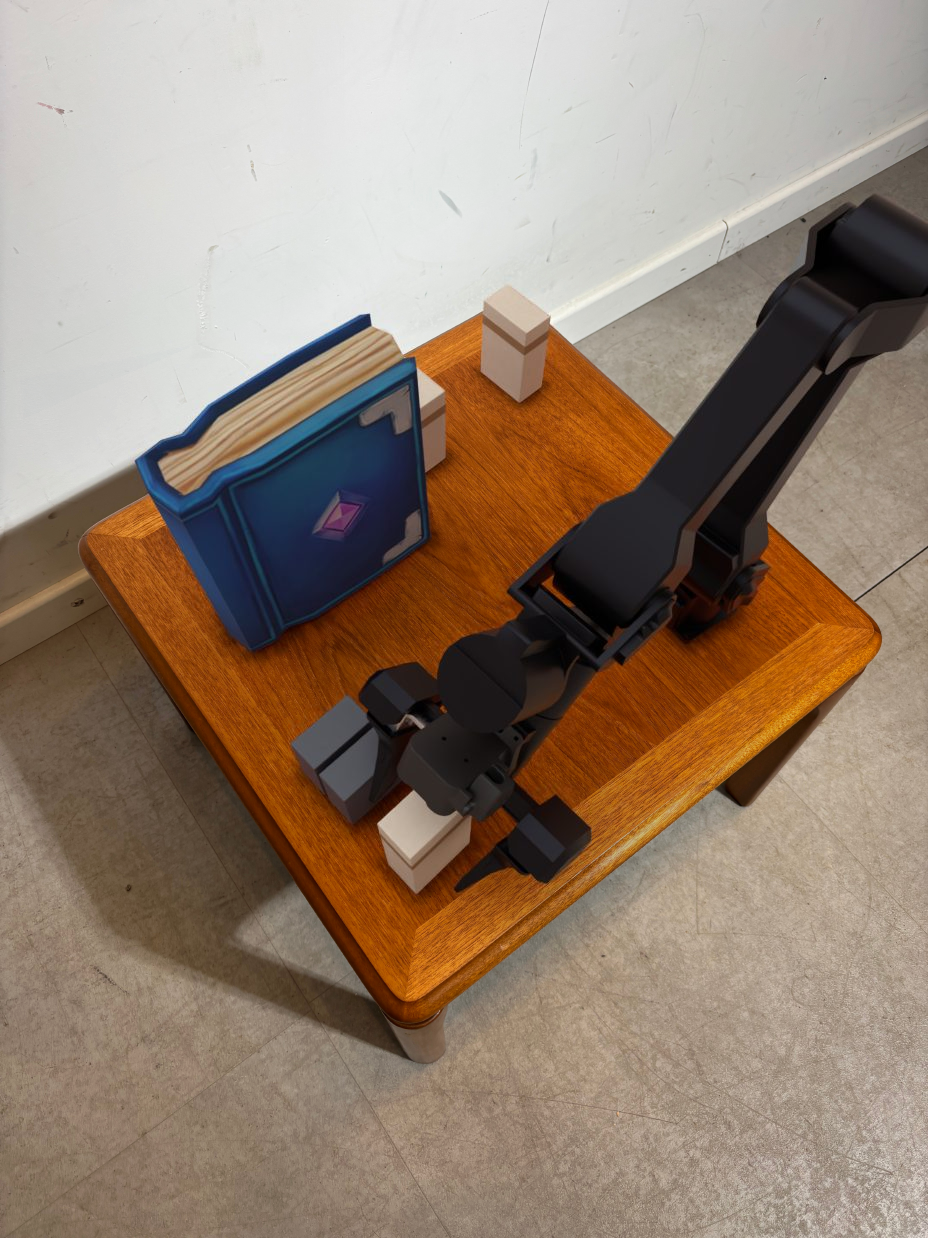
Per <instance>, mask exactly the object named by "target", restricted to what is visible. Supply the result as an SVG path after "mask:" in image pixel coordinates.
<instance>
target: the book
mask: <svg viewBox="0 0 928 1238" xmlns="http://www.w3.org/2000/svg"><path fill="white" fill-rule="evenodd" d="M402 352H403V351H401V349H400V347H399V345H398V343H397V341H396V339H395V337H394V336H393V334H391V333H389V332H387V331H384V330H382V329H379V328H377V327H375V326H373V323H372V318H371V313H364V314H363V313H362V314H358V315H357V316H355V317H353V318H351V319H349V320H348V321H346V322H344V323H342V324H341V325H339V326H337V327H335V328H333V329H332V330H330V331H328V332H326V333H325V334H322V335H321V336H319V337H318V338H315V339H313V340H312V341H310V342H308V343H306V344H305V345H303V346H301V347H299V348H297V349H296V350H293V351H292V352H290V353H289V354H287V355H285V356H283V357H282V358H280V359H279V360H277V361H275V362H274V363H272V364H271V365H269V366H267V367H266V368H265V369H263V370H261V371H259V372H258V373H256V374H254V375H253V376H251V377H250V378H249V379H247V380H245V381H244V382H242V383H240V384H239V385H237V386H236V387H234V388H233V389H231V390H229V391H227V392H226V393H224V394H223V395H221V396H219V397H218V398H216V399H214V400H213V401H212V402H210V403H209V404H207V405H206V406H205V407H204V409H202V410H201V412H200V413H198V415H197V416H196V417H195V418H194V420H192V422H190V424H189V425H188V426H187V428H185V429H184V430H183V431H182V432H181V433H179V434H176V435H172V436H169V437H166V438H163V439H160V440H159V441H157V442H156V443H155V444H153V445H152V446H151V447H150V448H149V449H147V450H145V452H143V453H142V454H141V455H140V456H138V457H137V458H136V459H134V464H135V466H136V468H137V470H138V473H139V475H140V477H141V479H142V482H143V484H144V486H145V489H146V492H147V493H148V495H149V497H150V499H151V500H152V502H153V504H154V506H155V508H156V509H157V512H158V513H159V515H160V516H161V518H162V519H163V521H164V524H165V525H166V527H167V528H168V530H169V532H170V534H171V536H172V538H173V539H174V541H175V543H176V545H177V546H178V547H179V549H180V551H181V553H182V554H183V556H184V558H185V560H186V562H187V564H188V565H189V567H190V568H191V570H192V572H193V574H194V576H195V577H196V579H197V581H198V583H199V585H200V586H201V588H202V590H203V591H204V593H205V595H206V597H207V598H208V601H209V602H210V604H211V605H212V607H213V609H214V611H215V612H216V614H217V616H218V618H219V620H220V621H221V623H222V625H223V626H224V628H225V630H226V632H227V634H228V635H229V636H230V637H231V638H233V639H234V640H235V641H236V642H238V643H239V644H240V645H242V647H244V648H246V649H247V650H248V651H249V652H250V653H252V654H254V653H255V652H256V653H257V652H258V651H260V650H262V649H263V648H265V647H267V646H269V645H271V644H274V643H276V642H277V641H278V640H279V639H280V638H281V636H282V635H283V634H284V633H285V632H286V630H287V629H288V628H292V627H294V626H297V625H300V624H303V623H306V622H309V621H312V620H315V619H317V618H319V617H320V616H322V615H323V614H325V613H326V612H328V611H329V610H331V609H332V608H334V607H335V606H336V605H338V604H340V603H342V602H343V601H344V600H346V599H347V598H349V597H350V596H352V595H353V594H355V593H356V592H358V591H359V590H361V589H362V588H364V587H365V586H367V585H369V584H370V583H372V582H373V581H374V580H376V579H378V578H380V576H382V575H383V574H384V573H386V572H387V571H388V570H390V569H391V568H392V567H394V566H395V565H397V564H398V563H399V562H401V561H402V560H404V559H406V557H408V556H409V555H411V554H412V553H414V552H415V551H416V550H417V549H419V548H421V546H423V545H425V544H426V543H427V542H428V541H430V540H431V539H432V537H431V524H430V512H429V511H430V510H429V501H428V499H429V498H428V487H427V476H426V473H425V462H424V449H423V437H422V425H421V413H420V400H419V388H418V376H417V368H418V367H417V359H416V356H410V357H405V356H404V354H403V353H402ZM404 357H405V358H404Z"/></svg>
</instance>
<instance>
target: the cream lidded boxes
mask: <svg viewBox="0 0 928 1238" xmlns="http://www.w3.org/2000/svg"><path fill="white" fill-rule="evenodd" d="M551 317H552V316H551V315H550V314H549V313H548V312H546V310H544V309H542V308H541V307H540V306H538V305H537V304H536V303H534V302H533V301H531V300H530V299H529V298H527V297H526V296H525V295H524V294H522V293H521V292H520V291H518V290H517V289H516V288H514V287H513V286H512V285H510V284H509V283H507V284H505V285H504V286H502V287H501V288H499V289H498V290H497V291H495V292H493V293H492V294H491V295H488V296H487V297H486V298H485V299H483V307H482V320H481V321H482V327H481V328H482V330H481V355H480V356H481V357H480V358H481V359H480V373H481V374H483V375H484V376H485V377H487V378H488V379H489V380H490V381H491V382H493V383H494V384H495V385H496V386H498V387H499V388H500V389H501V390H502V391H504V392H505V393H506V394H507V395H508V396H510V397H511V398H512V399H513V400H515V401H516V402H517V403H520V404H521V403H522V402H523V401H524V400H526V399H527V398H529V397H531V395H533V394H534V393H535V392H536V391H538V390H539V389H541V388H542V386H543V379H544V370H545V365H546V364H545V363H546V357H547V348H548V341H549V336H550V325H551V319H552V318H551ZM404 358H406V356H404ZM417 376H418V388H419V400H420V413H421V425H422V437H423V449H424V462H425V474H426V473H427V472H429V471H430V470H432V469H433V468H434V467H435V466H437V465H438V464H439V463H441V462H442V461H443V460H445V459H446V458H447V456H446V455H447V454H446V453H447V449H446V446H447V445H446V444H447V443H446V439H447V437H446V412H447V406H446V405H447V404H446V390H445V389H444V388H443V387H441V386H440V385H439V384H438V383H436V382H435V381H434V380H433V379H432V378H430V377H429V375H427V374H426V373H425V372H424V371H422V370H421V369H420V368H419V367H417Z"/></svg>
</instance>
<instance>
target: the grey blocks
mask: <svg viewBox="0 0 928 1238" xmlns="http://www.w3.org/2000/svg"><path fill="white" fill-rule="evenodd" d="M366 714H367V711H365V710H364V709H363V708H362V707H361V706H360V705H359V704H358V703H357V702H356V700H354V699H353V698H352V697H351V696H350V694H346V695H345V696H344V697H343V698H342V699H341V700H340V701H338V702H337V703H336V704H335V705H333V706H332V707H331V708H330V709H329V710H328V711H326V712H325V713H324V714H323V715H321V716H320V718H318V719H317V720H316V721H314V723H312V724H311V725H310V726H309V727H308V728H307V729H305V730H304V731H303V732H302V733H300V734H299V735H298V736H297V737H296V738H295V739H293V740H292V741H291V742H290V743H289V745H290V747H291V749H292V751H293V753H294V755H295V758H296V760H297V762H298V764H299V767H300V769H301V771H302V772H303V773H304V775H305V776H306V777H307V778H308V779H309V780H310V781H311V783H312V784H314V785H315V786H316V788H317V789H318V790H319V791H320V792H321V793H322V794H323V796H327V797H328V800H329V802H330V803H331V804H332V805H333V806H334V808H336V810H338V811H339V813H340V814H341V815H342V816H343V817H344V818H345V819H346V820H347V821H348V822H349V823H350V825H352V826H354V825H355V824H357V822H359V821H360V820H361V819H362V818H363V817H364V816H365V815H366V814H368V812H370V811H371V810H372V809H373V808H374V807H375V806H376V805H377V804H378V803H380V802H381V801H382V800H383V799H384V798H385V797H386V796H387V795H389V794H390V793H391V791H393V790H394V789H395V788H396V787H397V786H398V785H399V784H401V782H403V781H402V780H401V779H400V778H399V776H398V777H397V779H396V780H395V782H394V783H393V785H392V786H391V787H390V788H389V789H388V791H387V792H386V793H385V794H384V795H383V796H382V797H381V799H380V800H378V801H376V802H374V803H371V802H370V801H369V794H370V790H371V785H372V780H373V775H374V770H375V765H376V760H377V753H378V735H377V733H376V731H375V729H374V727H373V726H372V724H371V723H370V722H369V721H368V720H367V717H366Z"/></svg>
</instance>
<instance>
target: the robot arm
mask: <svg viewBox="0 0 928 1238" xmlns="http://www.w3.org/2000/svg"><path fill="white" fill-rule="evenodd" d="M927 328H928V220H926V219H924V218H922V217H921V216H920V215H917V214H916V213H914V212H912V211H910V210H909V209H907V208H905V207H904V206H902V205H900V204H898V203H896V202H895V201H893V200H891V199H889V198H888V197H886V196H885V195H882V194H881V193H873V194H872V195H870V196H868V197H867V198H865V199H864V200H863V201H862V202H861V203H860V204H859V205H857V204H854V203H852V202H851V201H846V202H844V203H843V204H841V205H840V206H838V207H837V208H836V209H834V210H833V211H832V212H830V213H829V214H827V215H826V216H825V217H823V218H821V219H820V220H819V221H818V222H816V223H815V224H813V225H812V226H811V227H809V229H808V232H807V234H806V236H805V238H804V240H803V243H802V244H801V247H800V248H799V251H798V254H797V255H796V257H795V260H794V261H793V264H792V266H791V269H790V271H789V273H788V275H787V276H786V277H785V278H784V279H783V280H782V281H781V282H780V283H779V284H778V285H777V286H776V288H775V289H774V290H773V291H772V292H771V294H770V295H769V296H768V298H767V300H766V301H765V302H764V304H763V305H762V307H761V310H760V312H759V314H758V316H757V319H756V322H755V331H754V332H753V333H752V334H751V336H750V337H749V339H748V340H747V341H746V342H745V344H744V345H743V346H742V348H741V349H740V351H739V352H738V353H737V355H735V357H734V358H733V360H732V361H731V362H730V364H729V365H728V366H727V368H726V369H725V370H724V371H723V373H722V374H721V375H720V377H719V378H718V379H717V381H716V382H715V383H714V384H713V386H712V387H711V389H710V390H709V391H708V392H707V394H706V395H705V397H704V398H703V399H702V401H701V402H700V403H699V404H698V406H697V407H696V408H695V409H694V411H693V412H692V414H691V415H690V416H689V418H688V419H687V420H686V422H685V423H684V424H683V426H681V428H680V429H679V430H678V432H677V434H676V435H675V436H674V437H673V439H672V440H671V441H670V442H669V444H668V446H667V447H666V448H665V449H664V451H663V452H661V454H660V456H659V457H658V458H657V460H656V461H655V463H654V464H653V465H652V466H651V468H650V469H649V471H648V472H647V473H646V474H645V476H643V478H642V479H641V480H640V482H639V483H638V484H637V485H636V486H635V487H634V489H633V490H631V491H627V492H626V493H624V494H621V495H619V496H616V497H613V498H611V499H609V500H607V501H604V502H601V503H599V504H597V505H596V506H595V507H594V508H593V510H592V511H591V512H590V514H589V515H587V517H586V519H584V520H582V521H579V522H578V523H576V524H574V525H573V526H572V527H571V528H570V529H569V530H567V532H565V533H564V534H563V535H562V536H561V537H560V538H559V539H558V540H557V541H555V543H554V544H552V545H551V547H550V548H549V549H547V550H546V551H545V552H544V553H543V555H541V556H540V557H539V558H537V560H536V561H535V562H533V564H532V565H530V567H529V568H528V569H526V570H525V571H524V572H523V573H522V574H521V575H520V576H519V577H517V579H516V580H515V581H514V582H513V583H512V584H511V585H510V586H508V588H507V590H506V594H507V595H509V596H510V597H511V598H512V599H513V600H514V601H516V602H517V603H518V605H520V607H522V609H521V610H520V611H519V613H518V615H517V616H516V617H515V618H513V619H508V620H507V621H506V622H504V624H503V625H502V626H499V627H495V628H491V629H487V630H482V631H479V632H475V633H470V634H468V635H465V636H462V637H460V638H459V639H457V640H455V641H454V642H453V643H452V644H449V646H448V647H447V648H446V649H445V651H444V652H443V654H442V656H441V658H440V660H439V663H438V667H437V671H436V678H435V677H434V676H433V675H432V674H431V673H430V672H429V671H428V670H427V669H426V668H424V666H423V665H422V664H420V663H419V662H418V661H410V662H405V663H400V664H397V665H393V666H389V667H386V668H383V669H378V670H376V671H375V672H374V673H373V674H372V675H371V676H369V677H368V678H367V679H366V682H365V683H364V684H363V686H362V687H361V689H360V690H359V691H358V694H357V697H358V702H359V703H360V704H361V705H362V706H363V707H364V708H365V709H366V710H367V711H366V713H367V714H366V717H367V720H368V721H369V722H370V723H371V724H372V726H373V727H374V729H375V731H376V733H377V735H378V753H377V760H376V765H375V770H374V775H373V780H372V785H371V790H370V794H369V801H370V802H371V803H374V802H376V801H378V800H380V799H381V797H382V796H383V795H384V794H385V793H386V792H387V791H388V789H389V788H390V787H391V786H392V785H393V783H394V782H395V780H396V779H397V777H398V776H399V778H400V779H401V780H402V781H401V782H403V783H404V784H405V785H408V786H409V787H410V788H411V789H412V791H413V790H414V791H415V792H416V793H417V794H418V795H419V796H420V797H421V798H422V799H423V800H424V801H425V802H426V805H427V807H428V808H429V809H430V810H431V811H432V812H434V813H435V814H437V815H440V816H449V815H451V814H452V813H454V812H455V811H457V812H458V813H460V815H461V816H462V817H465V816H466V815H471V816H472V818H473V819H474V820H475V821H476V822H477V823H479V824H480V823H484V822H485V821H487V820H488V819H489V818H490V817H491V816H493V815H494V814H495V813H497V811H499V810H500V809H503V811H504V812H505V813H506V814H507V815H508V816H509V817H510V818H511V819H513V821H514V822H515V823H516V825H515V826H514V827H513V828H512V829H511V831H510V832H509V833H508V834H507V835H506V836H504V838H502V839H500V840H499V841H498V842H496V843H495V844H494V845H493V846H492V848H491V850H490V851H488V852H487V854H485V855H484V856H483V857H482V858H481V859H480V860H479V861H478V862H477V863H476V864H475V865H473V867H471V868H470V869H469V870H468V871H467V872H466V873H465V874H464V875H463V876H462V877H461V878H460V879H459V880H458V882H457V883H456V885H455V886H454V887H453V891H454V892H455V893H456V894H458V893H461V892H462V891H463V890H465V889H467V888H469V887H471V886H472V885H475V884H476V883H478V882H479V881H481V880H483V879H485V878H487V877H489V876H490V875H492V874H495V873H498V872H500V871H504V870H506V869H513V870H515V872H516V873H517V874H519V875H520V876H522V877H529V876H530V875H531V877H532V878H534V879H535V881H537V882H538V883H541V884H545V885H548V884H549V883H550V882H551V881H553V880H554V879H555V878H556V877H557V876H558V875H559V874H561V873H562V872H563V871H564V870H565V869H566V868H567V867H569V866H570V865H571V864H573V862H574V861H576V860H577V859H578V858H579V857H580V855H581V854H582V853H583V852H584V851H585V849H586V848H587V847H588V846H589V844H591V842H592V827H591V826H590V825H589V824H588V823H587V822H586V821H585V820H583V818H581V817H580V816H579V815H578V814H577V813H576V812H575V811H574V810H573V809H572V808H571V807H570V806H569V805H568V804H567V803H566V802H565V801H564V800H563V799H561V797H560V796H558V795H557V794H554V795H552V796H551V797H549V798H548V799H547V800H545V801H544V802H542V803H541V804H540V803H538V801H536V800H535V799H534V797H532V796H531V795H530V794H529V793H528V792H527V791H526V790H525V789H524V788H523V787H522V786H521V785H520V784H519V783H518V782H517V781H516V780H515V779H516V778H517V777H518V775H519V774H520V773H521V771H523V769H524V768H526V766H527V765H528V763H529V762H530V761H531V760H532V758H533V756H534V754H535V753H536V752H537V751H538V750H539V748H540V747H541V746H542V745H543V743H544V742H545V740H546V739H548V737H549V735H550V734H551V733H552V731H553V730H554V729H555V728H556V727H557V726H558V725H559V724H560V722H561V721H562V720H563V718H565V715H566V713H567V712H568V711H569V710H570V709H571V707H572V706H573V704H574V703H575V702H576V700H577V699H578V698H579V697H580V696H581V695H582V693H583V692H584V690H585V689H586V688H587V687H588V685H589V684H590V683H591V681H593V679H594V677H596V675H597V674H598V673H601V672H604V671H605V670H608V669H610V668H611V666H613V665H614V664H615V663H617V664H618V665H619V666H621V667H623V666H624V665H625V664H627V663H628V662H629V661H630V660H631V659H632V658H633V657H634V656H635V655H636V654H637V653H638V652H639V651H640V650H641V649H643V647H645V646H646V645H647V644H648V643H649V642H650V641H651V640H652V639H653V638H654V637H655V636H656V635H657V634H658V633H660V632H661V631H662V630H663V629H664V628H665V627H668V628H669V629H671V630H672V631H673V632H674V633H675V634H676V635H677V637H678V638H679V639H680V640H681V641H682V642H683V643H685V644H689V643H691V642H693V641H694V640H697V638H699V637H701V636H702V635H703V634H705V633H707V632H708V631H710V630H711V629H713V628H714V627H716V626H717V625H719V624H721V623H722V622H724V621H725V620H727V619H728V618H729V617H731V616H733V615H734V614H736V613H737V612H738V609H739V607H740V606H741V607H749V605H750V604H752V602H753V601H754V600H755V598H756V597H757V594H758V592H759V591H758V587H759V586H760V585H761V584H762V583H763V582H764V580H765V579H766V575H767V573H768V572H769V571H770V569H771V567H772V566H771V565H769V564H768V563H767V562H765V561H764V560H763V559H761V558H762V556H763V554H764V553H765V551H766V550H767V548H768V546H769V545H770V538H769V524H768V510H769V508H770V507H771V506H772V504H773V503H774V501H775V500H776V498H777V497H778V495H779V494H780V492H781V491H782V489H783V488H784V486H785V485H786V483H787V482H788V480H789V479H790V477H791V476H792V475H793V473H794V472H795V470H796V468H797V467H798V466H799V464H800V462H801V461H802V460H803V458H804V457H805V455H806V453H807V452H808V450H809V449H810V447H811V446H812V445H813V443H814V442H815V440H816V439H817V437H818V436H819V434H820V433H821V431H822V429H823V428H824V427H825V425H826V424H827V422H828V421H829V419H830V418H831V416H832V414H833V413H834V411H836V408H837V407H838V406H839V405H840V403H841V402H842V400H843V398H844V396H845V395H846V394H847V392H848V391H849V389H850V388H851V386H852V385H853V383H854V382H855V380H856V378H857V377H858V376H859V374H860V373H861V371H862V370H863V368H864V367H865V365H866V364H867V362H868V361H871V360H873V359H874V358H876V357H879V356H881V355H883V354H885V353H892V352H898V351H901V350H902V349H904V348H905V347H906V346H907V345H908V344H909V343H911V342H912V341H914V339H915V338H917V336H919V335H920V334H921V333H922V332H923V331H924V330H925V329H927ZM551 577H552V580H551V584H552V588H554V590H556V591H557V592H558V593H559V594H560V595H562V596H563V597H564V598H565V599H566V600H567V601H568V602H570V604H572V605H573V606H572V605H571V606H568V605H567V604H566V603H564V602H563V601H562V600H561V599H560V598H559V597H558V596H557V595H555V594H554V593H553V592H552V591H550V589H549V588H547V586H545V585H544V583H545V582H546V581H548V580H549V579H550V578H551ZM687 637H688V638H687ZM442 707H443V708H444V710H445V711H446V712H444V711H443V710H442V709H441V708H442ZM381 800H382V799H381ZM381 800H380V801H381Z"/></svg>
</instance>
